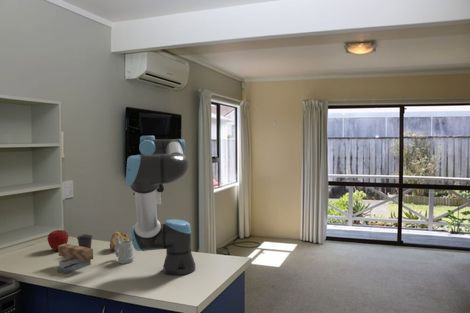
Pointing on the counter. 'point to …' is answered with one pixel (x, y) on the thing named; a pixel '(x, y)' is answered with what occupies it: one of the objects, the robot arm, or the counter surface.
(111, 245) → the rock
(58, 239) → the apple
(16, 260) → the counter surface
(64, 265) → the ridge
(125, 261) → the mug
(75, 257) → the walnut bar
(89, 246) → the coffee cup
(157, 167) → the robot arm
